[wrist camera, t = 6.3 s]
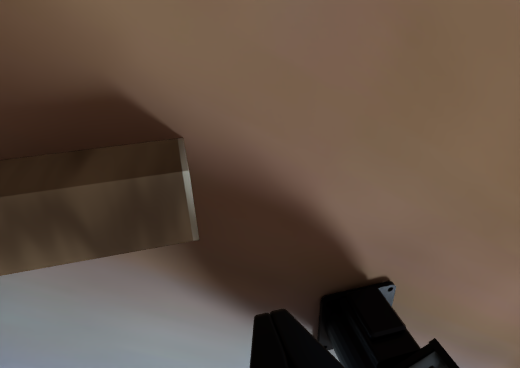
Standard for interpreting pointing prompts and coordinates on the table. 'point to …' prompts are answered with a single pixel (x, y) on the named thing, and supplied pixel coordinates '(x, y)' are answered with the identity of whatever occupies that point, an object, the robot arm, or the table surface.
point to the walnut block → (94, 204)
